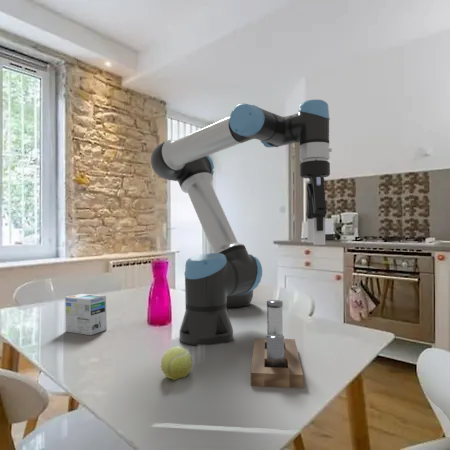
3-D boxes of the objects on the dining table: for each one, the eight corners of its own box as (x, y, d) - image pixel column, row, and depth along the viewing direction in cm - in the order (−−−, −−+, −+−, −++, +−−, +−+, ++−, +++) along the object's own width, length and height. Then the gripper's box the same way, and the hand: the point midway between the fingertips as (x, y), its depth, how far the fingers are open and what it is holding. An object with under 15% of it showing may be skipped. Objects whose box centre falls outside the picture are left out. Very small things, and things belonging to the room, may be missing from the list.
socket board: (250, 388, 71) (250, 372, 71) (254, 350, 92) (254, 338, 92) (303, 390, 69) (303, 374, 69) (294, 351, 91) (294, 339, 91)
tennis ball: (195, 346, 75) (181, 338, 81) (166, 358, 72) (153, 348, 77) (199, 376, 76) (185, 366, 81) (170, 389, 72) (157, 377, 78)
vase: (227, 298, 158) (226, 244, 158) (261, 303, 148) (260, 245, 148) (202, 306, 144) (202, 246, 145) (238, 311, 135) (237, 247, 135)
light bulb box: (107, 330, 112) (107, 295, 112) (91, 336, 106) (90, 299, 106) (81, 326, 117) (81, 292, 117) (64, 332, 111) (64, 296, 111)
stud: (267, 358, 85) (266, 303, 85) (267, 353, 88) (266, 299, 89) (283, 359, 84) (282, 303, 84) (282, 353, 88) (282, 300, 88)
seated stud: (267, 378, 74) (266, 339, 74) (267, 371, 78) (266, 333, 78) (285, 378, 73) (284, 339, 73) (284, 371, 77) (283, 333, 77)
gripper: (338, 151, 82) (339, 245, 82) (322, 168, 107) (323, 241, 107) (304, 152, 83) (305, 246, 83) (296, 169, 108) (297, 241, 107)
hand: (315, 243), depth 95 cm, fingers open, 13 cm apart
